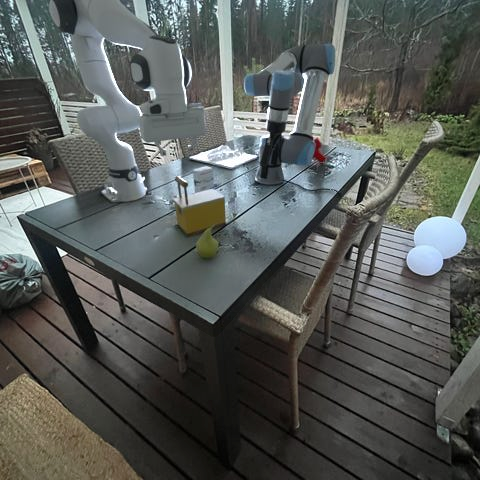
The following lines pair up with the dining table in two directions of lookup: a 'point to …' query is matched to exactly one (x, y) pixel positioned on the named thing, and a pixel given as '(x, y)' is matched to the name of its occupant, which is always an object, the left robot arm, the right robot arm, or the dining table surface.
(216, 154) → the relief map
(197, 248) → the fruit
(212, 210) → the chest
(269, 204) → the dining table surface
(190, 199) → the lid
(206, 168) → the ink box
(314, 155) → the toy gun
